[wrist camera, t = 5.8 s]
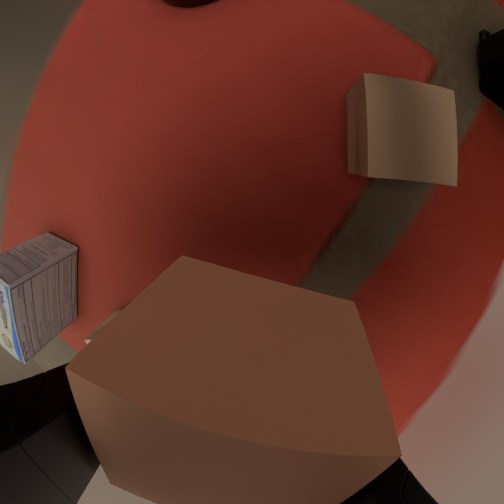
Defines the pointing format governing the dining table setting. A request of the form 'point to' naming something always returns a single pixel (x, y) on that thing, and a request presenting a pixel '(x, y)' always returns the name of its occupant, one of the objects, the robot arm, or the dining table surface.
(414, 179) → the walnut block
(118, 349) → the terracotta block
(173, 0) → the supplement bottle
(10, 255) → the medicine box
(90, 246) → the dining table surface
